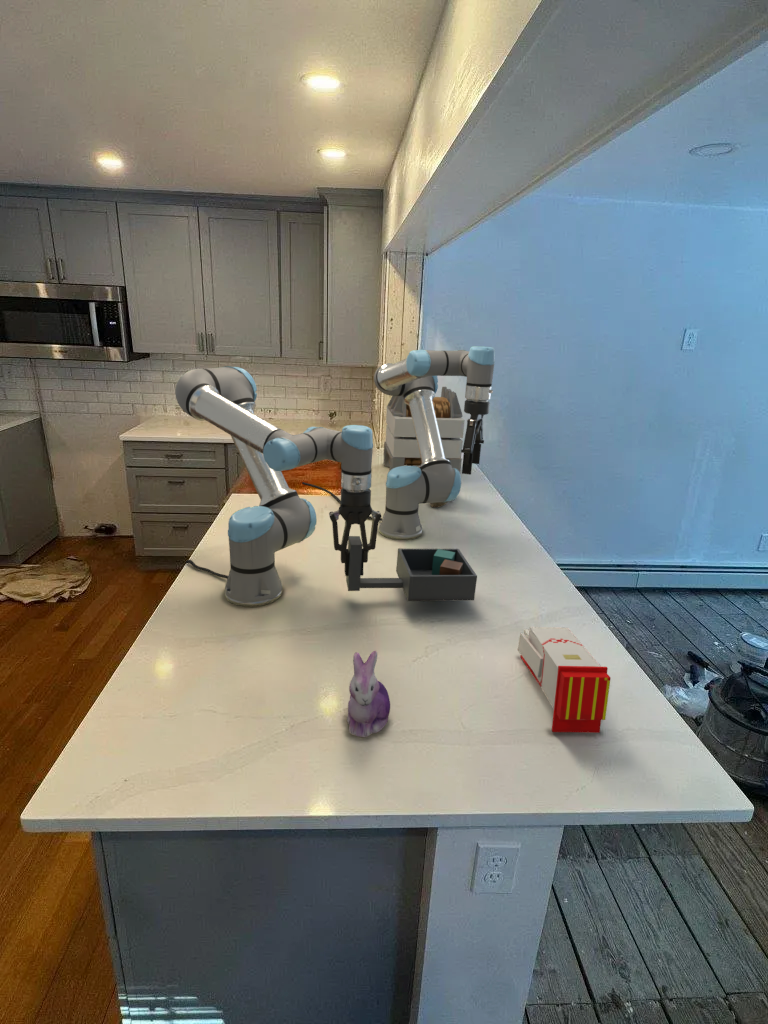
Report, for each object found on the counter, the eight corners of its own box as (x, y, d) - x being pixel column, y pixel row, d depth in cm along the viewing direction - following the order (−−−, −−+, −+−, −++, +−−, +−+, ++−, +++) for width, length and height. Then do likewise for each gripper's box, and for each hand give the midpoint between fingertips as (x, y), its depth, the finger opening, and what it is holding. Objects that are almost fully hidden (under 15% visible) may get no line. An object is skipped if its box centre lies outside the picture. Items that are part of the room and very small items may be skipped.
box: (350, 601, 142) (352, 554, 138) (344, 571, 158) (346, 527, 154) (474, 600, 147) (480, 554, 143) (455, 570, 164) (461, 529, 159)
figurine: (356, 747, 102) (359, 677, 97) (334, 712, 111) (335, 646, 105) (402, 731, 106) (406, 663, 101) (377, 699, 115) (380, 635, 110)
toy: (564, 611, 133) (619, 673, 103) (558, 664, 135) (611, 739, 106) (512, 610, 132) (554, 672, 103) (508, 663, 135) (547, 738, 106)
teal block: (431, 578, 156) (433, 555, 153) (435, 571, 160) (437, 548, 158) (448, 582, 154) (451, 558, 152) (452, 575, 159) (455, 552, 157)
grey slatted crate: (382, 463, 289) (386, 382, 275) (445, 464, 293) (451, 384, 279) (390, 482, 257) (394, 392, 243) (460, 483, 261) (468, 394, 247)
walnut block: (437, 590, 149) (440, 566, 147) (442, 582, 154) (444, 559, 152) (456, 594, 148) (459, 570, 146) (460, 586, 152) (463, 562, 150)
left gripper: (324, 493, 136) (323, 580, 144) (390, 492, 139) (386, 578, 147) (322, 484, 143) (322, 568, 151) (385, 483, 146) (382, 566, 154)
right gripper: (482, 407, 158) (475, 480, 165) (496, 396, 180) (489, 460, 187) (456, 404, 160) (450, 476, 167) (473, 393, 182) (466, 458, 189)
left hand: (353, 573), depth 149 cm, fingers closed on box, 3 cm apart
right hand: (470, 468), depth 177 cm, fingers open, 13 cm apart
